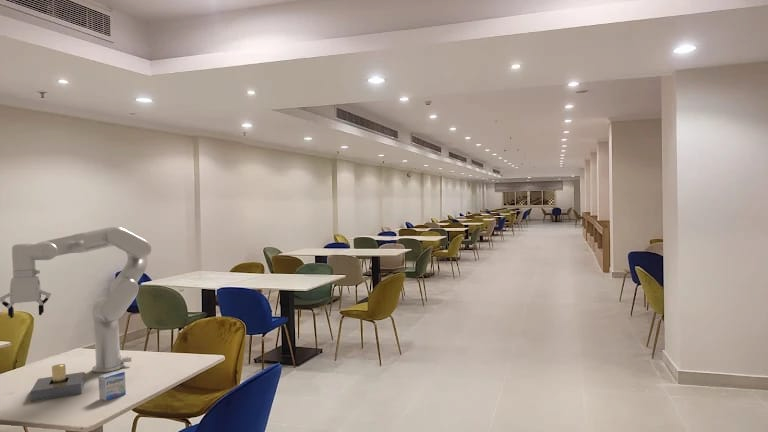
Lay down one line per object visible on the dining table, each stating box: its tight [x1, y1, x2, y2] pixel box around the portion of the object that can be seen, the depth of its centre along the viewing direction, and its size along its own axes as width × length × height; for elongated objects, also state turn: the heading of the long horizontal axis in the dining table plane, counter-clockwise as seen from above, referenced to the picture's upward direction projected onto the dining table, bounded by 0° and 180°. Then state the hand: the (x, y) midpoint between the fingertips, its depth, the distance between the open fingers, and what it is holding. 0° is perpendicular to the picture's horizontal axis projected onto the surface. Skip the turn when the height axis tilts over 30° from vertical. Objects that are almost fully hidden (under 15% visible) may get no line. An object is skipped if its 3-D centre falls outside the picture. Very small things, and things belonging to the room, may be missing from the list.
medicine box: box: [98, 370, 127, 402], centre depth 192 cm, size 8×4×9 cm, turn 148°
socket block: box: [30, 371, 86, 403], centre depth 200 cm, size 16×16×4 cm
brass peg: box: [51, 363, 67, 384], centre depth 200 cm, size 4×4×10 cm
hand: (26, 316), depth 208 cm, fingers open, 9 cm apart
